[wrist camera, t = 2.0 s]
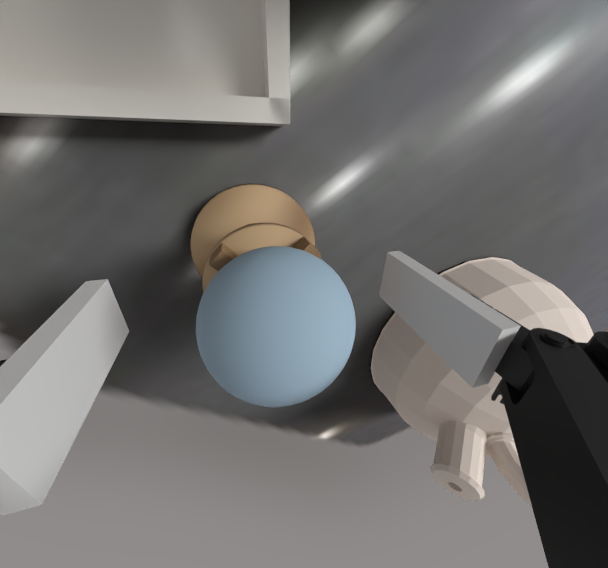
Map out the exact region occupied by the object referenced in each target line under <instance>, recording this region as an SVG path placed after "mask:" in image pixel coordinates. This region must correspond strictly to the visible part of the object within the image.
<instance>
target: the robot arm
mask: <svg viewBox="0 0 608 568" xmlns="http://www.w3.org/2000/svg"><path fill="white" fill-rule="evenodd" d="M379 296H380V297H381V298H382V299H383V300H384V301H385V302H386V303H387V304H388V305H389V306H390V307H391V308H392V309H393V310H394V311H395V312H396V313H397V314H398V315H399V316H400V317H401V318H402V319H403V320H404V321H405V322H406V323H407V324H408V325H409V326H410V327H411V328H412V329H413V330H414V331H415V332H416V333H417V334H418V335H419V336H420V337H421V338H422V339H423V340H424V341H425V342H426V343H427V344H428V345H429V346H430V347H431V348H432V349H433V350H434V351H435V352H436V353H437V354H438V355H439V356H440V357H441V358H442V359H443V360H444V361H445V362H446V363H447V364H448V365H449V366H450V367H451V368H452V369H453V370H454V371H455V372H456V373H457V374H458V375H459V376H460V377H462V378H463V379H464V380H465V381H466V382H467V383H468V384H469V385H470V386H471V387H472V388H474V387H478V386H482V385H485V384H488V383H489V382H490V380H491V378H492V376H493V375H494V373H495V372H496V373H497V374H499V375H500V376H501V377H502V379H501V381H500V382H499V384H498V386H497V387H496V389H495V391H494V392H493V394H492V396H491V400H492V401H495V400H496V398H497V397H498V395H502V399H501V401H500V403H502V404H504V406H505V409H506V413H507V417H508V420H509V424H510V428H511V431H512V435H513V438H514V442H515V446H516V449H517V453H518V457H519V460H520V464H521V468H522V471H523V475H524V479H525V482H526V486H527V490H528V493H529V497H530V501H531V504H532V508H533V512H534V515H535V519H536V522H537V526H538V530H539V533H540V536H541V541H542V544H543V548H544V552H545V555H546V559H547V562H548V566H549V568H608V332H596V333H595V334H594V335H593V336H592V337H591V339H590V340H589V341H588V343H582V342H575V341H574V340H573V339H571V338H569V337H567V336H565V335H563V334H561V333H559V332H556V331H552V330H549V329H544V328H533V329H532V330H529V329H527V328H526V327H524V326H522V325H521V324H519V323H517V322H516V321H514V320H513V319H511V318H509V317H508V316H506V315H504V314H503V313H501V312H500V311H498V310H496V309H493V307H491V306H490V305H488V304H485V303H484V302H483V301H482V300H480V299H478V298H477V297H475V296H473V295H471V294H468V293H467V292H465V291H464V290H462V289H460V288H459V287H457V286H455V285H454V284H452V283H451V282H449V281H447V280H446V279H444V278H443V277H441V276H439V275H438V274H436V273H434V272H433V271H431V270H430V269H428V268H426V267H425V266H423V265H421V264H420V263H418V262H417V261H415V260H413V259H412V258H410V257H409V256H407V255H405V254H404V253H402V252H400V251H395V252H387V257H386V262H385V267H384V272H383V277H382V282H381V287H380V293H379ZM128 333H129V329H128V327H127V324H126V322H125V320H124V317H123V315H122V312H121V310H120V308H119V305H118V303H117V300H116V298H115V296H114V293H113V291H112V288H111V286H110V284H109V281H108V279H105V280H94V281H86V282H85V283H84V284H83V285H82V286H81V287H80V288H79V289H78V290H77V291H76V292H75V293H74V294H73V295H72V296H71V297H70V298H69V299H68V300H67V301H66V302H65V303H64V304H63V305H62V306H61V307H60V308H59V309H58V310H57V311H56V312H55V313H54V314H53V315H52V316H51V317H50V318H49V319H48V320H47V321H46V322H45V323H44V324H43V325H42V326H41V327H40V328H39V329H38V330H37V331H36V332H35V333H34V334H33V335H32V336H31V337H30V338H29V339H28V340H27V341H26V342H25V343H24V344H23V345H22V346H21V347H20V348H19V349H18V350H17V351H16V352H15V353H14V354H13V355H12V356H11V357H10V358H9V359H8V360H1V361H0V514H1V515H6V514H10V513H13V512H17V511H21V510H24V509H28V508H31V507H35V506H39V505H42V503H43V501H44V500H45V497H46V496H47V494H48V491H49V490H50V487H51V486H52V484H53V481H54V480H55V478H56V476H57V474H58V472H59V470H60V468H61V466H62V464H63V462H64V460H65V458H66V456H67V454H68V452H69V450H70V448H71V446H72V444H73V442H74V440H75V438H76V436H77V434H78V432H79V430H80V428H81V426H82V424H83V422H84V420H85V418H86V416H87V414H88V412H89V410H90V408H91V406H92V404H93V402H94V400H95V398H96V396H97V394H98V393H99V391H100V389H101V387H102V385H103V383H104V381H105V379H106V377H107V375H108V373H109V371H110V369H111V367H112V365H113V363H114V361H115V359H116V357H117V355H118V353H119V351H120V349H121V347H122V345H123V343H124V341H125V339H126V337H127V335H128Z"/></svg>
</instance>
